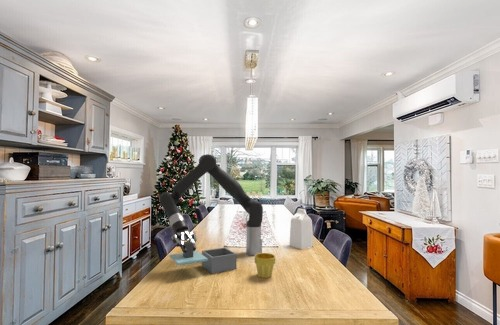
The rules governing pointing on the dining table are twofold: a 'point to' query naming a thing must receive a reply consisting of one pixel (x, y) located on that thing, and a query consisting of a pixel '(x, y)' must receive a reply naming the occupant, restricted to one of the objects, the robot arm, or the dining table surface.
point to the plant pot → (264, 264)
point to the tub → (219, 260)
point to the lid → (188, 256)
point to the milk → (301, 230)
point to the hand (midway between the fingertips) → (190, 251)
